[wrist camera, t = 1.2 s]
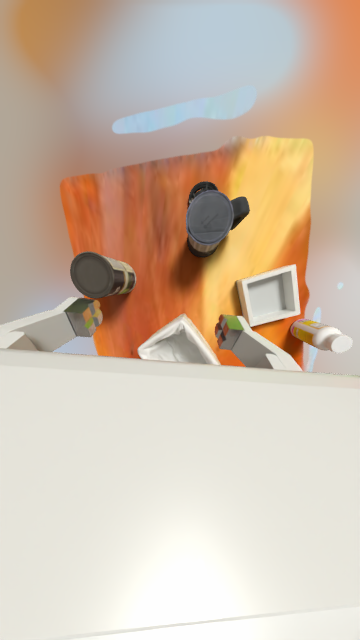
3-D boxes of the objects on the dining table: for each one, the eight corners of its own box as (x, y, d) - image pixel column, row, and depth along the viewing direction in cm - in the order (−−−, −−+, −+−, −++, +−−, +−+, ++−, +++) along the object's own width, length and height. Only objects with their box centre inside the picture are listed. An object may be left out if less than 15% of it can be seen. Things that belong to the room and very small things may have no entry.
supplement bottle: (299, 340, 46) (338, 362, 34) (284, 329, 46) (320, 347, 33) (315, 326, 45) (363, 342, 32) (301, 314, 44) (344, 326, 32)
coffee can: (141, 288, 45) (120, 290, 32) (114, 297, 47) (83, 303, 33) (129, 256, 43) (101, 244, 29) (100, 267, 44) (61, 260, 31)
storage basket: (148, 331, 49) (132, 351, 35) (185, 306, 46) (183, 317, 32) (186, 378, 54) (185, 413, 39) (222, 358, 50) (235, 388, 36)
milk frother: (200, 264, 42) (205, 255, 28) (165, 221, 40) (152, 187, 25) (238, 229, 39) (267, 198, 25) (204, 180, 36) (213, 113, 22)
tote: (288, 310, 44) (300, 314, 39) (244, 322, 46) (250, 326, 41) (283, 266, 41) (295, 264, 36) (235, 281, 43) (241, 280, 38)
